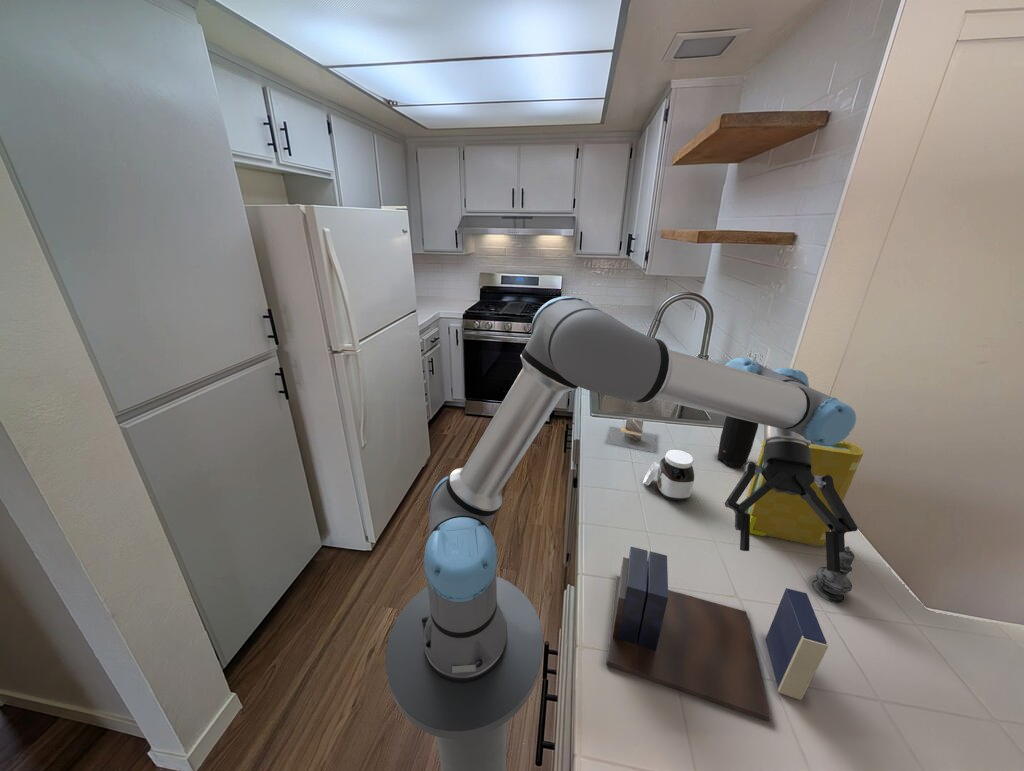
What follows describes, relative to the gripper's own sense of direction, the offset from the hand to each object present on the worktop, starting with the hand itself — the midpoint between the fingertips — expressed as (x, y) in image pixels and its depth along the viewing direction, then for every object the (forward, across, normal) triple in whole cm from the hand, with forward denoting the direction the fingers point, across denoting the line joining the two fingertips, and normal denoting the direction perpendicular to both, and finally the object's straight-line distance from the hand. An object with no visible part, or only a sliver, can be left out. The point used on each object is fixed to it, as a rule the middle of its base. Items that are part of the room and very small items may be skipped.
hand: (787, 560), depth 68 cm
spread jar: (-13, +18, -33) cm, 40 cm away
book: (-8, -9, -28) cm, 31 cm away
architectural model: (-31, +28, -51) cm, 66 cm away
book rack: (+17, +16, -2) cm, 24 cm away
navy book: (+17, 0, -2) cm, 17 cm away
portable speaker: (-29, -2, -49) cm, 57 cm away
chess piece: (+3, -13, -17) cm, 21 cm away
